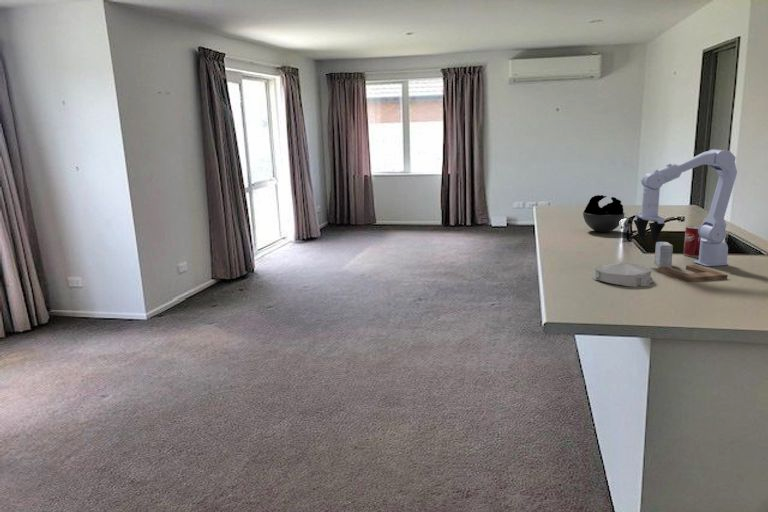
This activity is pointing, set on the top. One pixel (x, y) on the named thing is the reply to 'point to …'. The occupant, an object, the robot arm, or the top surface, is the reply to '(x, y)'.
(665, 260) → the medicine box
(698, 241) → the soda can
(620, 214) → the coal bowl
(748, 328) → the top surface
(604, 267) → the food container
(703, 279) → the notched board
